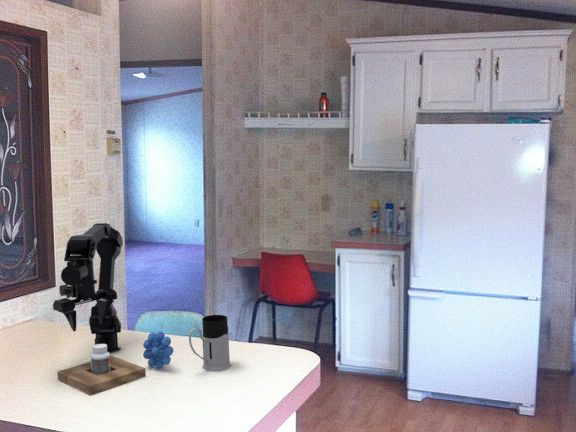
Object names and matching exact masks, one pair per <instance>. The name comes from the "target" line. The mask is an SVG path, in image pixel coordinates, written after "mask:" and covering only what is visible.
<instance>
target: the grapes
mask: <svg viewBox="0 0 576 432" xmlns="http://www.w3.org/2000/svg"><path fill="white" fill-rule="evenodd" d="M171 342H172V340H171V338H170V336H167V335H165V333H164V331H162V330H159V331H157V332H154V331H152V332H150V333H149V334H148V336H147V339H146V340H145V339H144V341H143V344H142V345H143V348H144V349H145V350H144V351H143V354H142V355H143V358H144V359H145V360H147V366H149V367H150V368H155V369H157V370H162V369H163V368H164V367H165V366H168V365H170V363H171V360H172V358H171V356H172V355H173V353H174V347H172V346H171Z"/></svg>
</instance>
